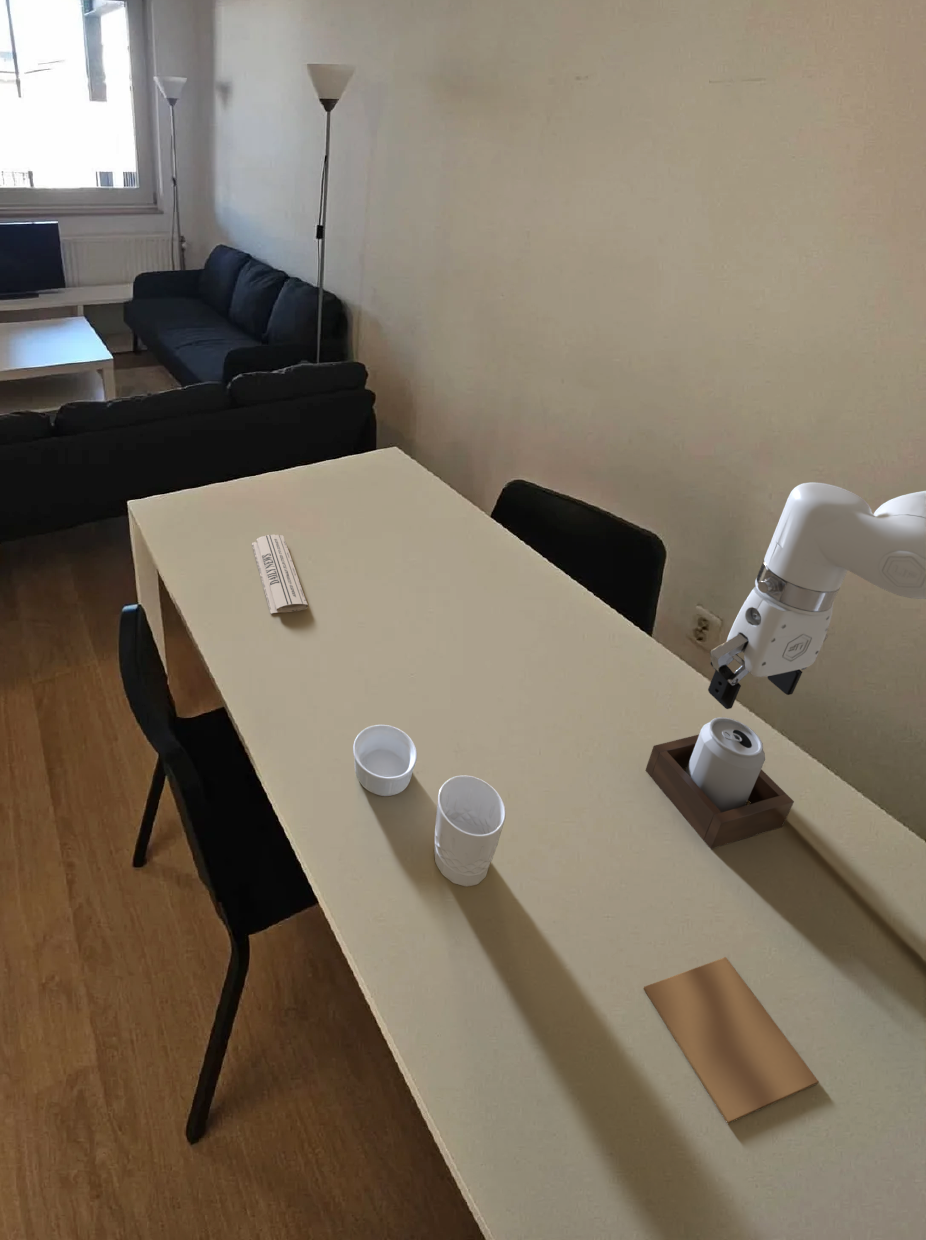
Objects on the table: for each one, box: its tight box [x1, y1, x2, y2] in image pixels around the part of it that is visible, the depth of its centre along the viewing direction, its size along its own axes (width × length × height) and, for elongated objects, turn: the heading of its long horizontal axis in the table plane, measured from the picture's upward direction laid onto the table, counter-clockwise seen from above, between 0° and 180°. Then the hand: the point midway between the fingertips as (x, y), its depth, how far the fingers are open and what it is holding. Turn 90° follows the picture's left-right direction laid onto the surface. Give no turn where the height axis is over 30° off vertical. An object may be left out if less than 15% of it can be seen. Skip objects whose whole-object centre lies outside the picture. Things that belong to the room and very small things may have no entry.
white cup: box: [433, 775, 507, 888], centre depth 81 cm, size 8×8×10 cm
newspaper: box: [251, 534, 309, 615], centre depth 135 cm, size 24×7×2 cm, turn 13°
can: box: [685, 716, 766, 813], centre depth 90 cm, size 8×8×12 cm
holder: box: [645, 734, 795, 850], centre depth 92 cm, size 12×12×5 cm
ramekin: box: [352, 724, 418, 797], centre depth 93 cm, size 9×9×4 cm
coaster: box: [642, 956, 819, 1124], centre depth 68 cm, size 11×11×1 cm
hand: (749, 693), depth 85 cm, fingers open, 9 cm apart
